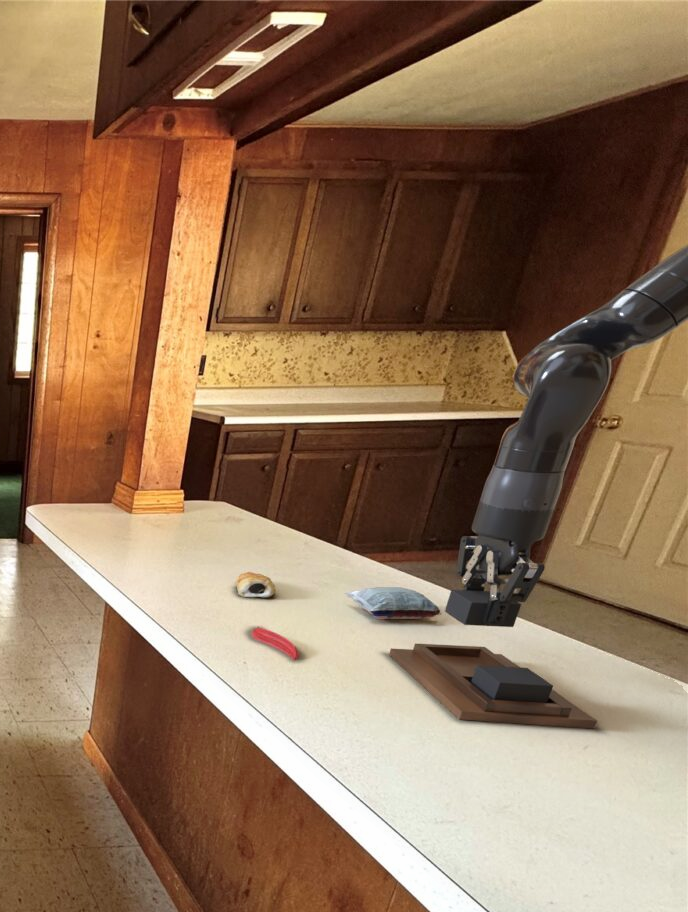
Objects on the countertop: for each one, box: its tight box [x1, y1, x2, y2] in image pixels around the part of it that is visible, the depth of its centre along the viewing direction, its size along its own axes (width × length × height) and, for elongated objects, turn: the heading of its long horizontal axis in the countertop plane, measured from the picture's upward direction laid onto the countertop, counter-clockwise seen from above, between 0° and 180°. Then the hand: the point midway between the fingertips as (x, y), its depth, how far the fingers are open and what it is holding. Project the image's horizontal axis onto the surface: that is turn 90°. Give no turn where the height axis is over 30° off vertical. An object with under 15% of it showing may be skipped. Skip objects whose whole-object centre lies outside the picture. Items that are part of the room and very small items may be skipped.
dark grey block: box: [471, 665, 554, 703], centre depth 89 cm, size 6×5×4 cm
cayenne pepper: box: [251, 626, 300, 661], centre depth 109 cm, size 12×5×2 cm, turn 172°
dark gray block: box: [444, 589, 522, 628], centre depth 94 cm, size 6×5×4 cm
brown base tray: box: [388, 643, 598, 730], centre depth 94 cm, size 15×19×2 cm
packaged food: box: [344, 586, 442, 620], centre depth 117 cm, size 9×12×5 cm
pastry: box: [235, 571, 276, 598], centre depth 130 cm, size 9×7×4 cm
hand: (478, 616), depth 95 cm, fingers closed on dark gray block, 5 cm apart
